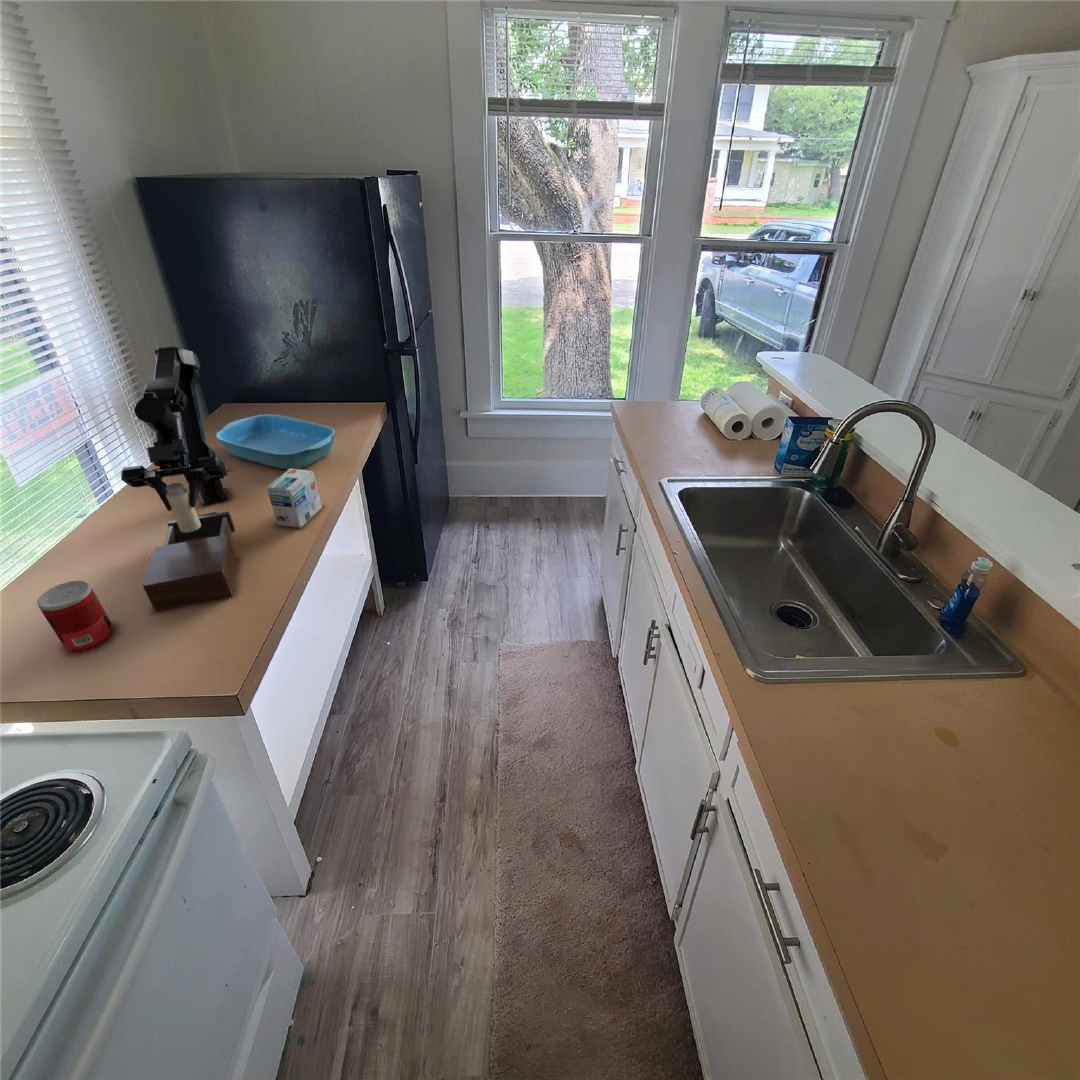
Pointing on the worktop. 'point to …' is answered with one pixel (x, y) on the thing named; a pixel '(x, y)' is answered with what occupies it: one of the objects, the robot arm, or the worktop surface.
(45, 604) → the canned food
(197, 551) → the cabinet
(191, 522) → the grey-lidded cream jar
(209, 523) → the drawer
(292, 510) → the light bulb box
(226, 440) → the casserole dish
